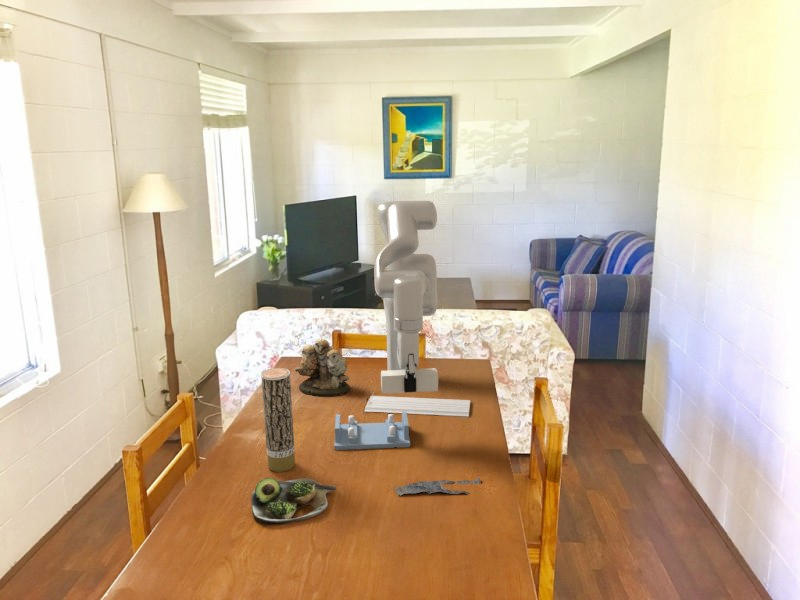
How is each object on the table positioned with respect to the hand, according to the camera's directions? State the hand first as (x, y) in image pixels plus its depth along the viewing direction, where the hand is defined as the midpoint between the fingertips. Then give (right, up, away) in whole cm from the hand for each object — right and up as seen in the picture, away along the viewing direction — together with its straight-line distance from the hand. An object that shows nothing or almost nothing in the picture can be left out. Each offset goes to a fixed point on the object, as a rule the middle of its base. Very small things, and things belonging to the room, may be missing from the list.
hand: (409, 387), depth 177 cm
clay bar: (0, 0, 0) cm, 1 cm away
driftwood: (+7, -21, -23) cm, 32 cm away
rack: (-10, -14, +3) cm, 18 cm away
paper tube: (-32, -18, -12) cm, 39 cm away
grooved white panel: (+3, -10, +21) cm, 24 cm away
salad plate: (-28, -23, -28) cm, 46 cm away
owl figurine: (-27, -6, +37) cm, 46 cm away
